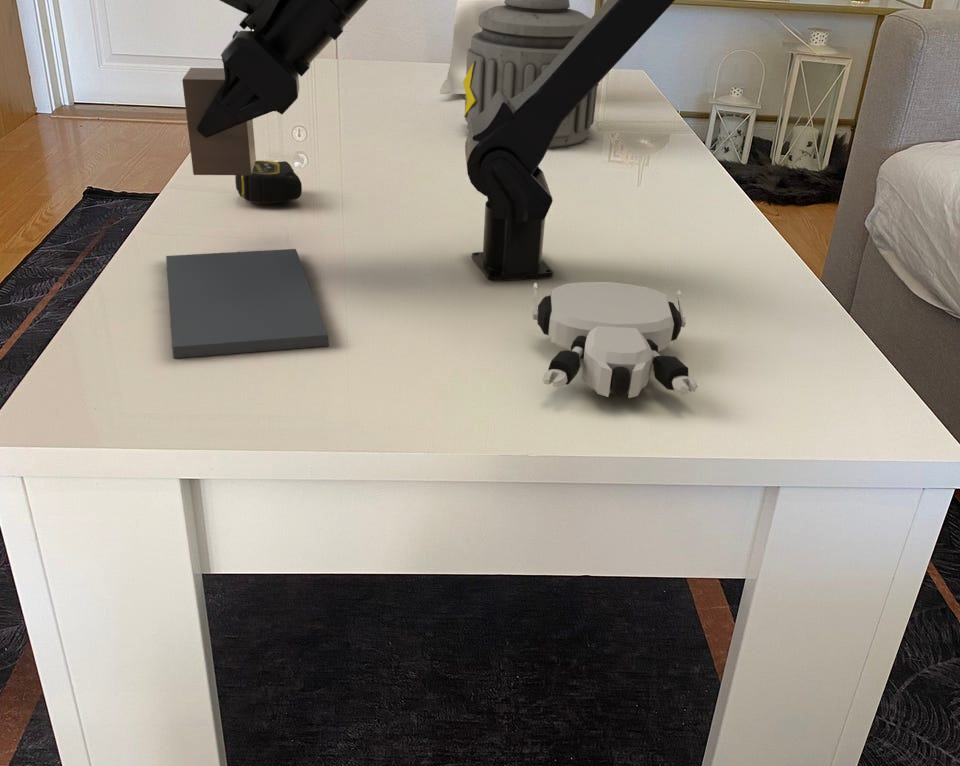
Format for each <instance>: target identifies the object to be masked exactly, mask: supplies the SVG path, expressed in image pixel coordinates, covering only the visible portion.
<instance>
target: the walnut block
mask: <svg viewBox="0 0 960 766" xmlns="http://www.w3.org/2000/svg"><path fill="white" fill-rule="evenodd" d="M224 80H225V73H224V67H190V68H189V69H188V71H187V72H186V73H185V75H184V76H183V78H182V80H181V81H182V82H181V83H182V89H183V98H184V107H185V115H186V123H187V132H188V140H189V151H190V158H191V166H192V174H193V176H235V175H251V174H252V171H253V168H254V164H255V161H257V156H256V147H255V146H256V145H255V143H256V142H255V132H254V119H252V120H249V121H246V122H244V123H242V124H239V125H236V126H234V127H232V128H229V129H227V130H224V131H222V132H220V133H217V134H215V135H212V136H210V137H207V138H206V137H204V136H203V135H202V134H201V133H199V132H198V131H197V127H198V125H199V123H200V121H201V120H202V118H203V116H204V114H205V113H206V111H207V109H208V108H209V106H210V104H211V102H212V101H213V99H214V97H215V96H216V94H217V92H218V90H219V89H220V87H221V85H222V84H223V82H224Z"/></svg>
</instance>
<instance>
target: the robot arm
mask: <svg viewBox="0 0 960 766" xmlns="http://www.w3.org/2000/svg"><path fill="white" fill-rule="evenodd" d="M368 1H369V0H219V2H221V3H224V4H226V5H228V6H230V7H232V8H234V9H236V10H238V11H240V12H242V13H243V14H244V13H245V14H246V15H245V16H244V17H243V18H242V20H241V21H240V23H239V24H238V26H239V27H241V28H242V30H235V31H234V33H233V35H232V39H231V40H230V42H229V43H228V44H227V45H226V47H224V49H223V50H222V52H221V54H220V56H221V61H222V65H223V68H224V73H225V80H224V82H223V84H222V85H221V87H220V89H219V90H218V92H217V94H216V96H215V97H214V99H213V101H212V102H211V104H210V106H209V108H208V109H207V111H206V113H205V114H204V116H203V118H202V120H201V121H200V123H199V125H198V127H197V131H198V132H199V133H201V134H202V135H203V136H204V137H206V138H207V137H210V136H212V135H215V134H217V133H220V132H222V131H224V130H227V129H229V128H232V127H234V126H236V125H239V124H242V123H244V122H246V121H249V120H252V119H253V120H254V119H257V118H260V117H262V116H264V115H267V114H269V113H273V112H274V113H275V112H276V113H278V114H280V115H284V114H285V112H286V111H288V109H289V108H290V107H291V106H292V105H293V104H294V103H295V102H296V101H297V100H298V98H299V93H300V77H301V78H302V77H303V76H304V74H306V73H307V71H309V69H310V67H311V63H312V62H313V61H314V60H315V59H316V58H317V56H318V55H320V53H321V52H322V51H323V50H324V49H325V48H326V47H327V46H328V45H329V43H331V41H332V40H334V41H336V40H337V39H338V38H339V37H340V36H341V35H342V33H343V32H344V27H345V26H347V24H348V23H349V22H350V20H352V18H353V17H355V15H356V14H357V13H358V12H359V11H360V10H361V9H362V7H363V6H364V5H366V4H367V2H368ZM675 1H676V0H606V1H605V2H604V3H603V4H602V5H601V6H600V8H599V9H598V10H597V11H596V12H595V13H594V15H592V16H591V19H590V20H589V21H588V22H587V23H586V25H585V26H584V27H583V28H582V29H581V30H580V31H579V32H578V33H577V35H576V36H575V37H574V38H573V39H572V40H571V41H570V42H569V44H568V45H567V46H566V47H565V48H564V49H563V50H562V51H561V52H560V54H559V55H558V56H557V57H556V58H555V59H554V60H553V61H552V63H551V64H550V65H549V66H548V67H547V68H546V69H545V70H544V71H543V73H542V74H541V75H540V76H539V77H538V78H537V79H536V80H535V82H534V83H533V84H532V85H531V86H530V87H528V88H527V89H526V90H524V91H523V92H521V93H519V94H518V95H516V96H515V97H513V98H511V99H510V100H509V99H508V98H507V97H506V95H505V94H504V92H503V91H502V90H501V89H498V91H497V92H496V93H495V95H494V96H493V98H492V99H491V101H490V103H489V104H488V106H487V107H486V108H485V110H484V111H483V112H482V113H480V114H479V115H478V116H476V117H474V118H472V119H470V126H471V131H470V130H469V133H468V134H467V136H466V139H465V143H464V152H465V153H464V154H465V164H466V173H467V176H468V179H469V181H470V184H471V185H472V186H473V187H474V188H475V190H476V191H477V192H479V193H480V194H481V195H483V196H484V197H486V198H487V200H486V201H485V203H484V205H485V206H484V225H483V243H482V245H483V247H482V251H475V252H472V253H471V260H472V261H473V262H474V263H475V264H476V266H477V267H478V268H479V270H480V271H481V272H482V274H483V275H484V276H485V277H486V279H487V280H489V281H492V282H493V281H494V282H495V281H506V280H507V281H509V280H524V279H525V280H526V279H538V278H551V277H553V276H554V270H553V269H552V267H550V266H549V265H548V264H547V262H545V260H543V248H544V238H545V237H544V236H545V226H546V225H545V224H546V217H547V214H548V213H549V210H550V208H551V206H552V204H553V197H552V194H551V191H550V188H549V184H548V182H547V179H546V177H545V174H544V171H543V170H542V169H541V168H540V167H539V165H540V164H541V162H542V161H543V159H544V158H545V156H546V154H547V152H548V150H549V149H550V148H549V146H550V144H551V142H552V140H553V138H554V136H555V134H556V132H557V130H558V128H559V127H560V125H561V123H562V122H563V121H564V120H565V119H566V118H567V116H568V115H569V114H570V113H571V112H572V111H573V110H574V109H575V108H576V107H577V106H578V105H579V103H580V102H581V101H582V100H583V99H584V98H585V97H586V96H587V95H588V94H589V93H590V92H591V90H592V89H593V88H594V87H595V86H596V85H597V84H600V82H601V81H602V80H603V79H604V78H605V77H606V76H607V74H608V73H609V72H610V71H611V70H612V69H613V68H614V67H615V66H616V65H617V64H618V63H619V62H620V60H622V58H623V57H624V56H625V55H626V54H627V53H628V52H630V49H632V47H634V45H635V44H636V43H637V42H638V41H639V40H640V39H641V38H642V37H643V35H644V34H645V33H647V31H648V30H649V29H650V28H651V27H652V26H653V25H654V24H655V23H656V22H657V20H658V19H660V17H661V16H662V15H663V14H664V13H665V12H666V11H667V10H668V9H669V8H670V6H671V5H672V4H674V2H675ZM246 28H248V29H249V30H246Z"/></svg>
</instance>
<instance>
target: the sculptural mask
mask: <svg viewBox="0 0 960 766" xmlns="http://www.w3.org/2000/svg"><path fill="white" fill-rule="evenodd" d="M504 2H505V0H457V1H456V4H455V5H456V6H455V12H454V25H453V36H452V37H453V38H452V48H451V56H450V63H449V67H448V71H447V75H446V79H445V80H444V81H443V83H442V84H441V86H440V89H439V93H438V94H439V95H466V93H465V89H464V85H463V81H464V79H465V77H466V67H467V51H468V49H470V48H471V38H472V36H473V35H474V34H475V33H478V32H482V28H481V27H480V26H479V25H478V22H479V15H480V14H481V12H483V11H485V10H487V9H489V8H491V7H495V6H501V5H506V4H505V3H504Z"/></svg>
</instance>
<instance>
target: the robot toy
mask: <svg viewBox="0 0 960 766" xmlns="http://www.w3.org/2000/svg"><path fill="white" fill-rule="evenodd" d="M675 295H676V299H677V303H678V308H677V307H676V305H675V303H674V302H672V301H669V300H668V297H667V295H666V294H665V293H663V292H661V291H658V290H656V289H653V288H650V287H647V286H641V285H635V284H629V283H623V282H622V283H621V282H613V281H582V282H572V283H571V282H570V283H564V284H563V285H560V286H558V287H555V288H553V289H552V290H551V293H550V294H549V295H546V296H543V298H542V300H540V302H539V304H538V283H537V282H534V283H533V311H532V320H534V321H536V322H537V323H536V324H537V325H538V327H539V329H541V331H542V333H543V335H546V336H549V339H550V342H551V343H553V344H554V345H555V346H557V347H560V348H562V349H564V350H560V351H559V352H558V353H556V355H555V356H554V357H553V358H552V359H551V360H550V363H549V366H548V367H547V368H548V369H547V370H545V372H544V373H543V375H542V382H543V384H545V385H548V386H550V385H551V384H552V387H555V388H559V389H561V388H562V387H564V386H566V385H569V384H571V382H572V381H573V380H574V379H575V377H576V376H577V375H578V373H579V371H580V368H581V360H583V361H582V368H581V378H582V380H583V381H584V383H585V384H586V385H587V386H588V387H589V390H591V391H593V392H595V393H596V394H597V395H600V396H603V397H607V398H609V395H613V396H615V397H624V396H626V395H628V398H627V399H630V398H631V399H632V398H634V397H638V396H639V395H640V393H641V391H642V390H643V389H644V388H645V387H647V386H648V384H649V381H650V376H651V370H652V367H653V375H654V379H655V380H656V381H657V382H659V383H660V384H661V385H662V386H663V387H664V388H665V389H666V390H669V391H674V392H676V393H677V394H679V395H683V394H684V395H686V394H689V392H690V393H693V392H696V390H697V389H698V384H697V381H696V379H695V378H694V377H691V376H689V367H688V366H687V365H686V364H684V363H683V361H681V360H680V359H679V358H678V357H677V356H672V355H663V354H662V355H660V353H659V352H661V351H664V350H665V349H667V348H668V346H669V344H670V343H671V342H674V341H675V340H677V339H678V337H679V335H680V333H681V331H682V328H685V327H686V323H687V320H686V317H685V316H684V311H683V303H682V291H681V290H680V289H678V290H677V291H676V294H675Z"/></svg>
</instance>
